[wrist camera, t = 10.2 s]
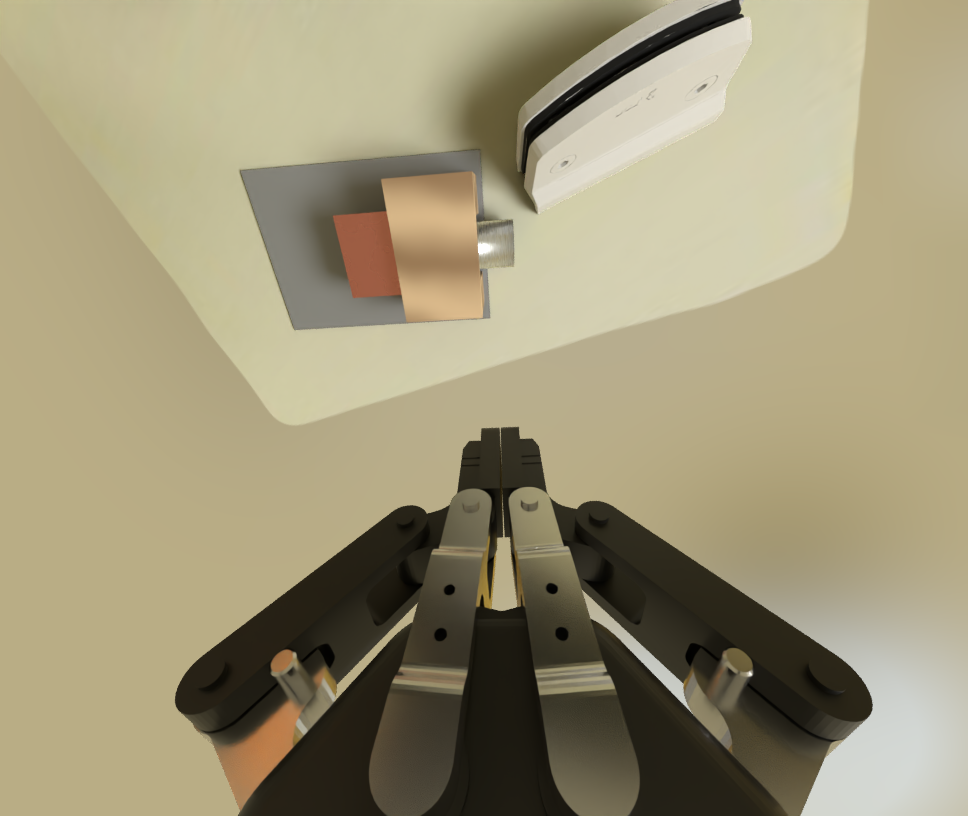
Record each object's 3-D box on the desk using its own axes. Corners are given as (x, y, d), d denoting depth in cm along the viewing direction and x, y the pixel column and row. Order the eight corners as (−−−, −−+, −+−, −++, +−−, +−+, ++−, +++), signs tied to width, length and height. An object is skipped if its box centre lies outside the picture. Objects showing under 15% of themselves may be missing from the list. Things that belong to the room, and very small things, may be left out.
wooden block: (399, 181, 33) (381, 179, 28) (475, 175, 33) (471, 171, 27) (419, 304, 39) (406, 322, 33) (484, 300, 38) (482, 317, 33)
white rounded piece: (534, 216, 34) (528, 172, 25) (514, 167, 34) (501, 102, 24) (719, 119, 30) (798, 21, 21) (701, 61, 30) (774, -68, 20)
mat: (241, 170, 33) (240, 170, 33) (479, 149, 32) (479, 149, 32) (295, 329, 41) (294, 329, 41) (490, 317, 39) (490, 318, 39)
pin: (368, 287, 38) (353, 297, 34) (351, 213, 34) (332, 215, 30) (513, 277, 37) (515, 287, 33) (511, 200, 33) (513, 201, 29)
